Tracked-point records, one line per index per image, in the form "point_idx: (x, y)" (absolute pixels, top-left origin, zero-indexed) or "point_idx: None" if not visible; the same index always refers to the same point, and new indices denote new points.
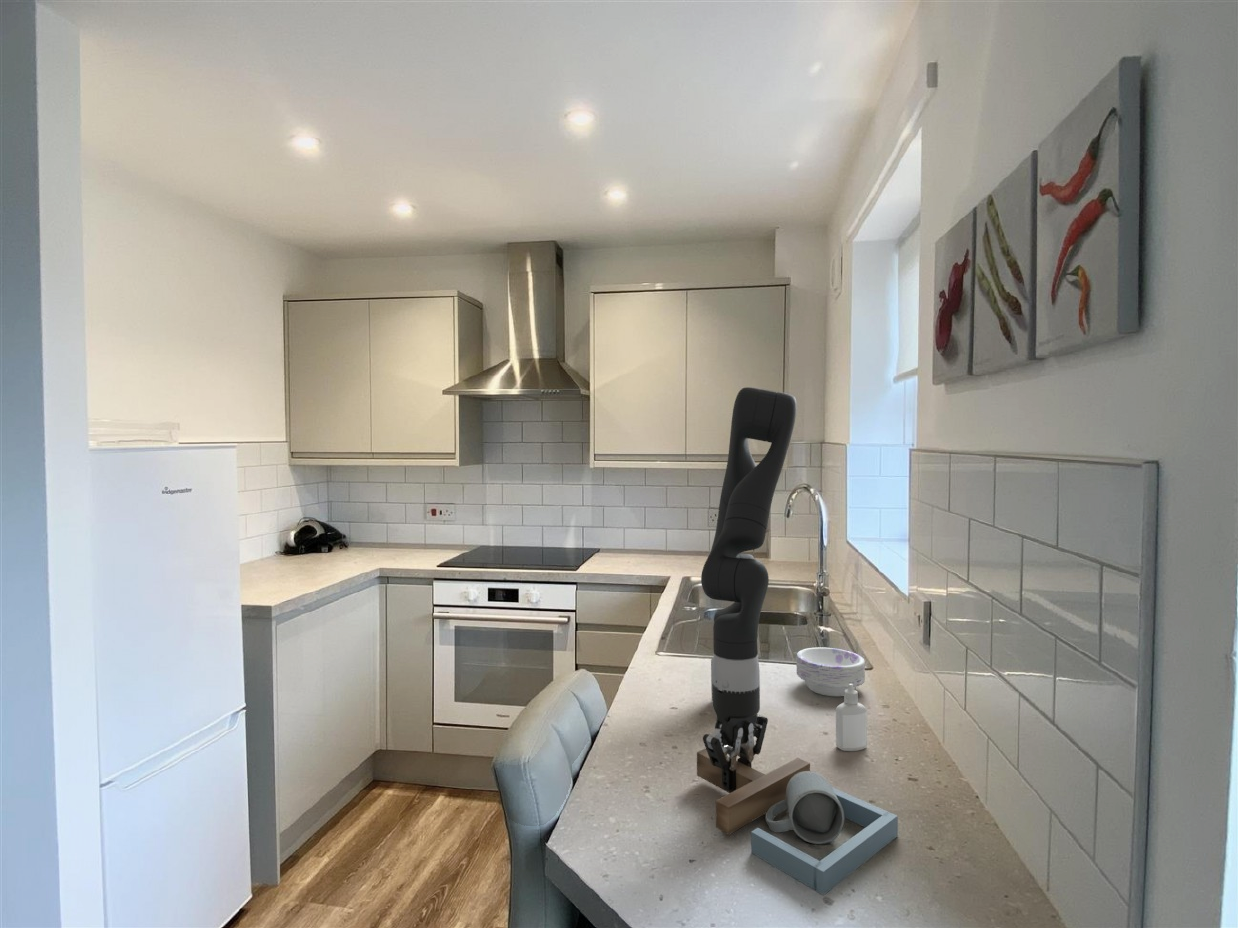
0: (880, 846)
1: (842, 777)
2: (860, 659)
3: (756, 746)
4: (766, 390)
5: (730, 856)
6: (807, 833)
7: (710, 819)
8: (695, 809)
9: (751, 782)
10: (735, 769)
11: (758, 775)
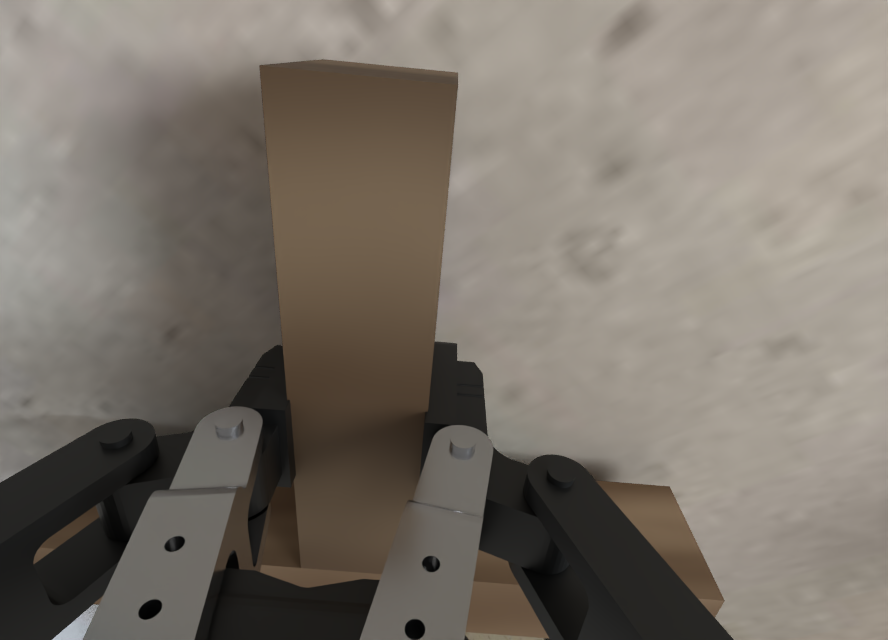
0: None
1: (857, 531)
2: None
3: (526, 593)
4: None
5: None
6: None
7: (157, 337)
8: (145, 237)
9: (282, 566)
10: (290, 481)
11: (372, 561)
